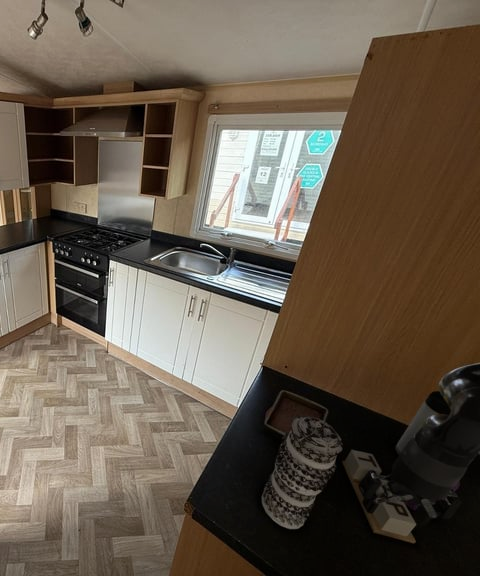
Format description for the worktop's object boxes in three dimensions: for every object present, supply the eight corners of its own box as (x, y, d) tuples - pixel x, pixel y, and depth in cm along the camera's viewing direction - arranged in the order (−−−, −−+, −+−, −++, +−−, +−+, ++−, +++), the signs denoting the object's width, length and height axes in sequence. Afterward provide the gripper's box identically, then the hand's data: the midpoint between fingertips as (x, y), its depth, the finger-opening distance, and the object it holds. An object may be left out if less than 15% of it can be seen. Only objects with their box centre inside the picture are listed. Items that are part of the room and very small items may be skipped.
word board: (374, 469, 76) (376, 467, 76) (414, 543, 63) (416, 541, 62) (341, 462, 78) (343, 460, 78) (373, 532, 64) (374, 530, 64)
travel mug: (428, 473, 76) (472, 414, 67) (392, 454, 80) (430, 397, 71) (431, 457, 79) (473, 399, 71) (397, 440, 84) (433, 384, 75)
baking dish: (250, 438, 86) (258, 418, 81) (277, 398, 96) (287, 378, 90) (307, 478, 77) (321, 459, 72) (330, 430, 87) (345, 409, 81)
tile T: (365, 465, 76) (372, 453, 74) (374, 483, 73) (382, 470, 71) (344, 461, 78) (351, 449, 76) (352, 477, 74) (359, 465, 72)
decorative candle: (256, 515, 67) (289, 436, 56) (262, 479, 74) (291, 402, 63) (306, 541, 63) (352, 461, 52) (306, 500, 70) (347, 422, 59)
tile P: (394, 513, 67) (403, 501, 65) (406, 536, 63) (417, 524, 61) (370, 507, 68) (379, 495, 66) (381, 529, 64) (390, 517, 62)
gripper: (393, 473, 56) (359, 524, 63) (494, 497, 53) (446, 547, 60) (373, 438, 63) (344, 488, 70) (461, 457, 59) (422, 507, 66)
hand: (391, 515), depth 65 cm, fingers open, 8 cm apart
